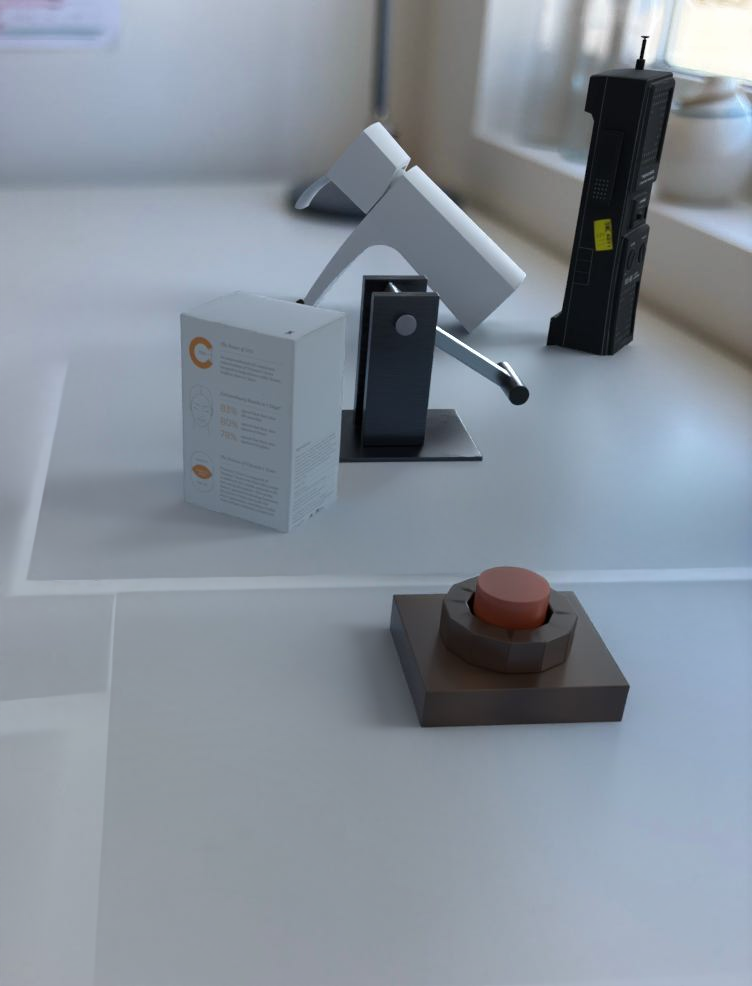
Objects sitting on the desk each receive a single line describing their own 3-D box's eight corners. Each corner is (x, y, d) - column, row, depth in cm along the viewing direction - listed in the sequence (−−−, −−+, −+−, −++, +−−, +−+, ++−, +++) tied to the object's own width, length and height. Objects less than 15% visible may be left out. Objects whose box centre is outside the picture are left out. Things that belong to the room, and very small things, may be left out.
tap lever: (498, 389, 84) (519, 362, 83) (516, 414, 80) (538, 386, 79) (365, 305, 80) (385, 275, 79) (377, 327, 75) (398, 296, 74)
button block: (566, 624, 63) (579, 561, 61) (621, 722, 56) (638, 654, 53) (389, 628, 62) (395, 564, 60) (421, 728, 55) (429, 660, 52)
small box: (338, 509, 74) (351, 311, 67) (286, 547, 70) (294, 339, 63) (236, 478, 78) (237, 287, 71) (180, 512, 73) (176, 312, 66)
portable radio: (604, 370, 98) (668, 46, 84) (539, 356, 101) (590, 40, 87) (633, 346, 104) (697, 39, 90) (571, 333, 106) (623, 33, 93)
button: (533, 594, 59) (539, 565, 58) (554, 632, 56) (560, 601, 55) (465, 596, 58) (469, 566, 57) (482, 634, 55) (486, 603, 54)
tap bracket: (453, 423, 87) (472, 267, 81) (481, 472, 80) (504, 305, 73) (298, 424, 86) (305, 266, 80) (311, 474, 79) (320, 305, 72)
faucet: (517, 289, 101) (360, 121, 99) (394, 405, 111) (248, 255, 108) (529, 271, 106) (380, 111, 104) (410, 384, 116) (271, 240, 113)
